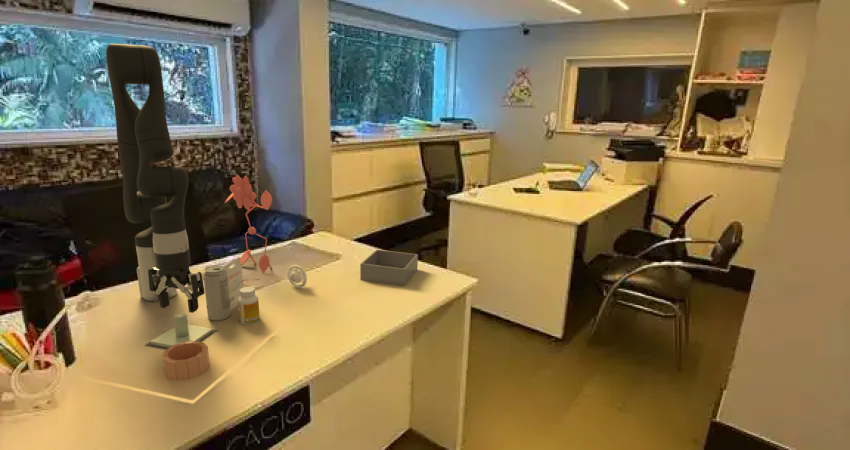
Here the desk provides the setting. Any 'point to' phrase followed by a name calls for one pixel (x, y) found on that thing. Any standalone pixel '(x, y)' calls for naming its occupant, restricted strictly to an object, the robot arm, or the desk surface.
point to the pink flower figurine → (243, 197)
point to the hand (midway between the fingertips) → (179, 309)
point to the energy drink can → (217, 293)
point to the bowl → (185, 360)
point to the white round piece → (297, 276)
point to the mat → (167, 347)
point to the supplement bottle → (248, 306)
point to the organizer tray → (389, 274)
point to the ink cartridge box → (234, 281)
